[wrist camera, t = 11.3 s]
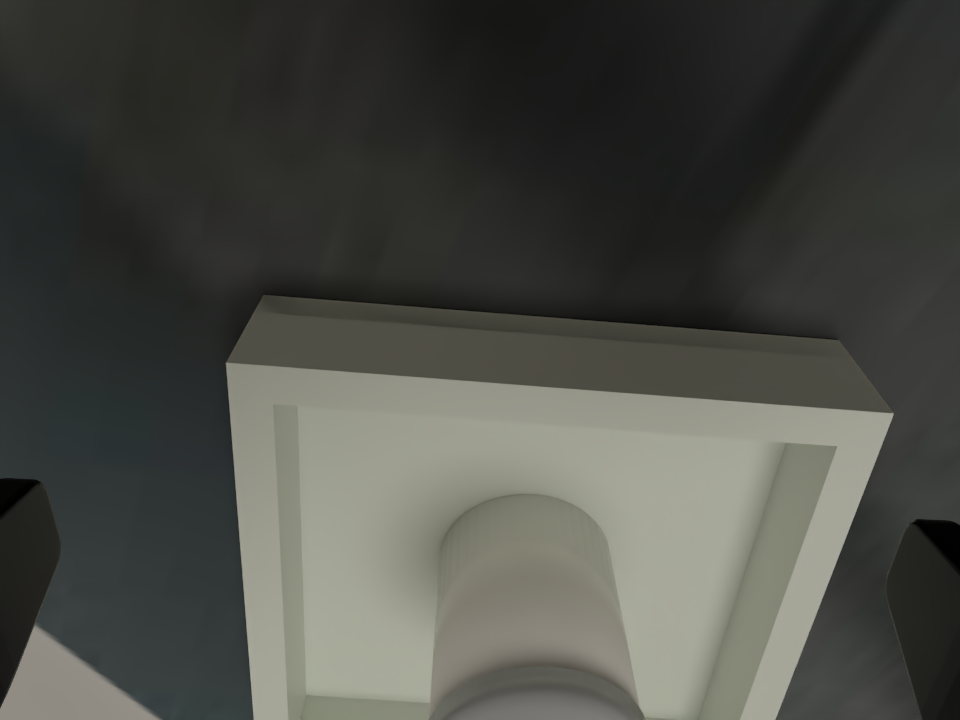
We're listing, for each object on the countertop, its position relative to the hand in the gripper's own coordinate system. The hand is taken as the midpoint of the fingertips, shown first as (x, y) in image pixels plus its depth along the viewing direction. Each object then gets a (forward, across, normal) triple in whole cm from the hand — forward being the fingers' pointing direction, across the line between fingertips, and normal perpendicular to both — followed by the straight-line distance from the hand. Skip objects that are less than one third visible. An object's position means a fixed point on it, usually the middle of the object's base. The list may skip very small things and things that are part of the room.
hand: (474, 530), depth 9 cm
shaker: (+12, -2, +11) cm, 16 cm away
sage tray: (+13, -2, +11) cm, 17 cm away
